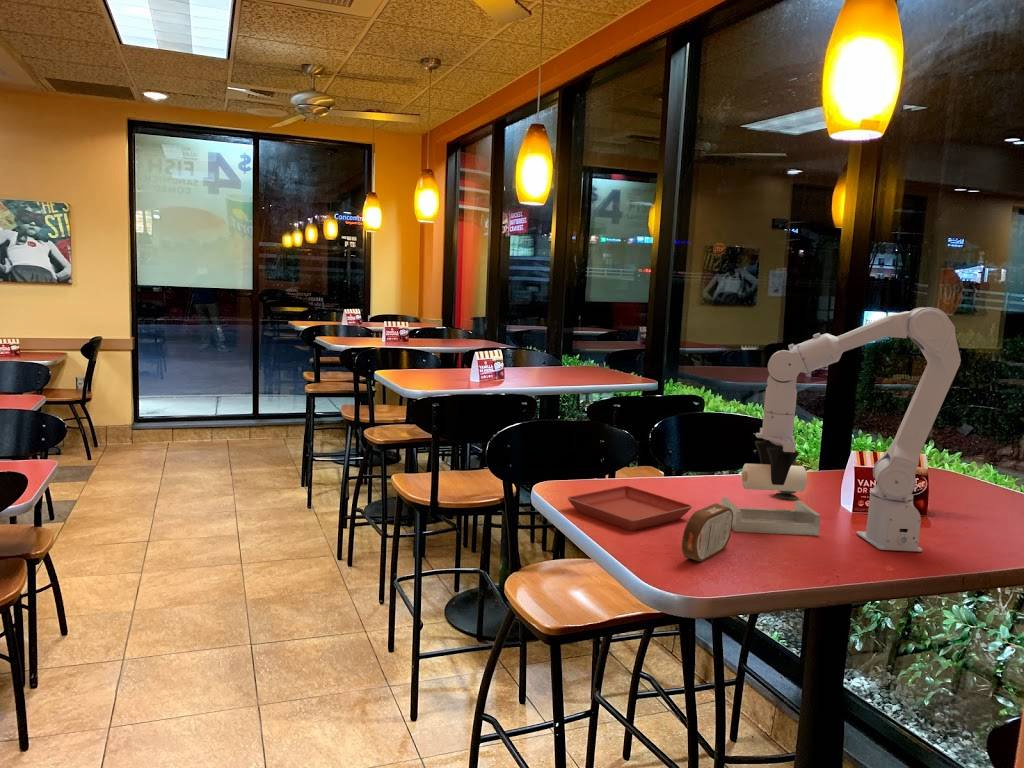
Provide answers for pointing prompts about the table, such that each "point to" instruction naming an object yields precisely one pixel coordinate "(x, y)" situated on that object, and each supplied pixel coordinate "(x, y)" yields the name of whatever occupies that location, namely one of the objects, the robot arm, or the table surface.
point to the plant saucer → (629, 507)
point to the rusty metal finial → (787, 492)
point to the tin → (707, 532)
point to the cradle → (775, 519)
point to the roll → (761, 478)
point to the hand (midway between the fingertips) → (772, 480)
